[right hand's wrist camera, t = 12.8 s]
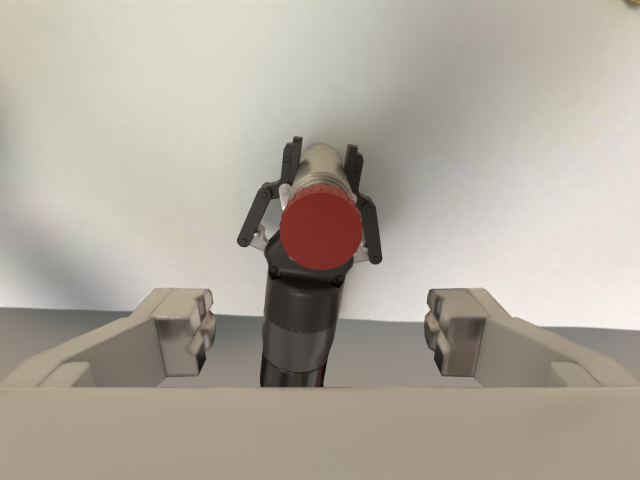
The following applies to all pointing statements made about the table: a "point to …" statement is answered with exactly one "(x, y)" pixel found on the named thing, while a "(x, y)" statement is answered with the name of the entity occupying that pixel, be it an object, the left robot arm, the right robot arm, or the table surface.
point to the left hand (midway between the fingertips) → (325, 142)
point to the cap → (321, 227)
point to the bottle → (320, 170)
